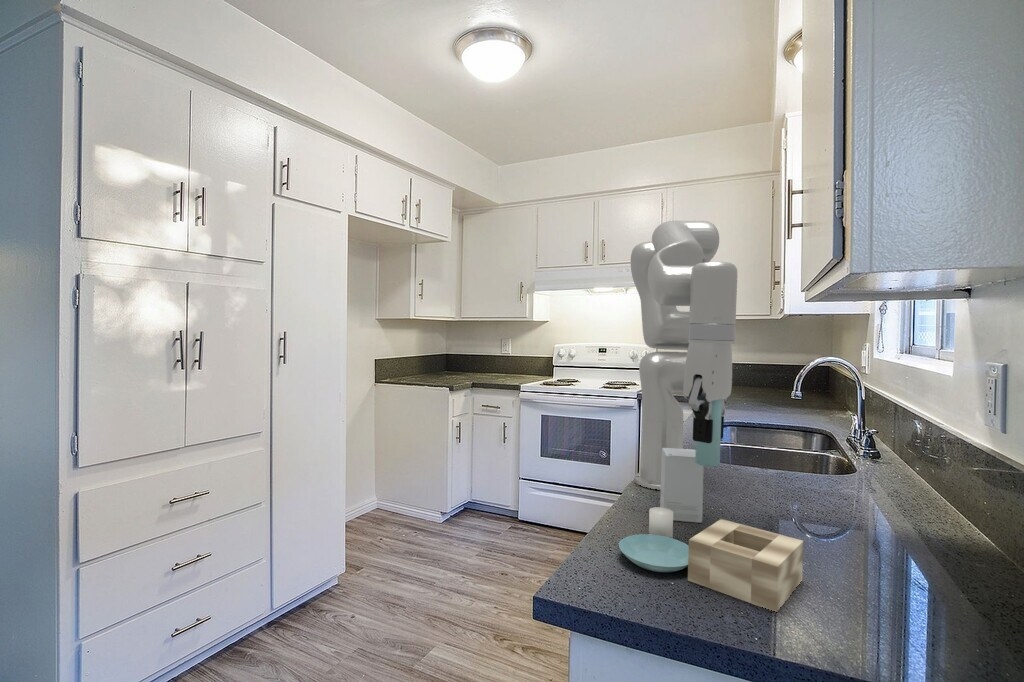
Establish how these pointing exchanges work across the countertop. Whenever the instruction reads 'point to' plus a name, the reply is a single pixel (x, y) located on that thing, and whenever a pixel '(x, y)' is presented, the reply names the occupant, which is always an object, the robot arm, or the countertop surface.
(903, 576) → the countertop surface
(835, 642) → the countertop surface
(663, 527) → the short off-white stub
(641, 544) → the saucer
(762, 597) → the birch hole block
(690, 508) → the supplement box
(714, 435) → the teal dowel
